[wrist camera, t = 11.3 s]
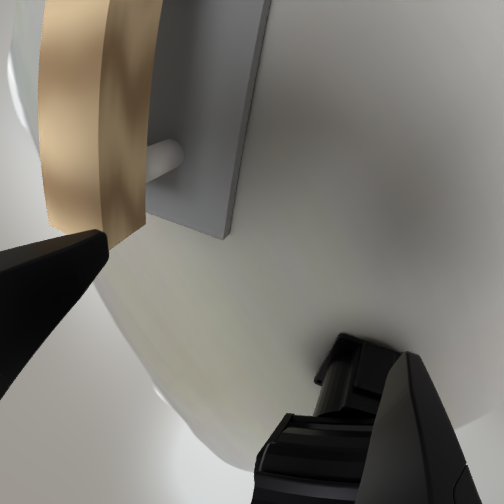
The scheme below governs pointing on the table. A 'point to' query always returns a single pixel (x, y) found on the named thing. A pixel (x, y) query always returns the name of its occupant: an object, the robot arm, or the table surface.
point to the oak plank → (96, 112)
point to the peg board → (201, 109)
